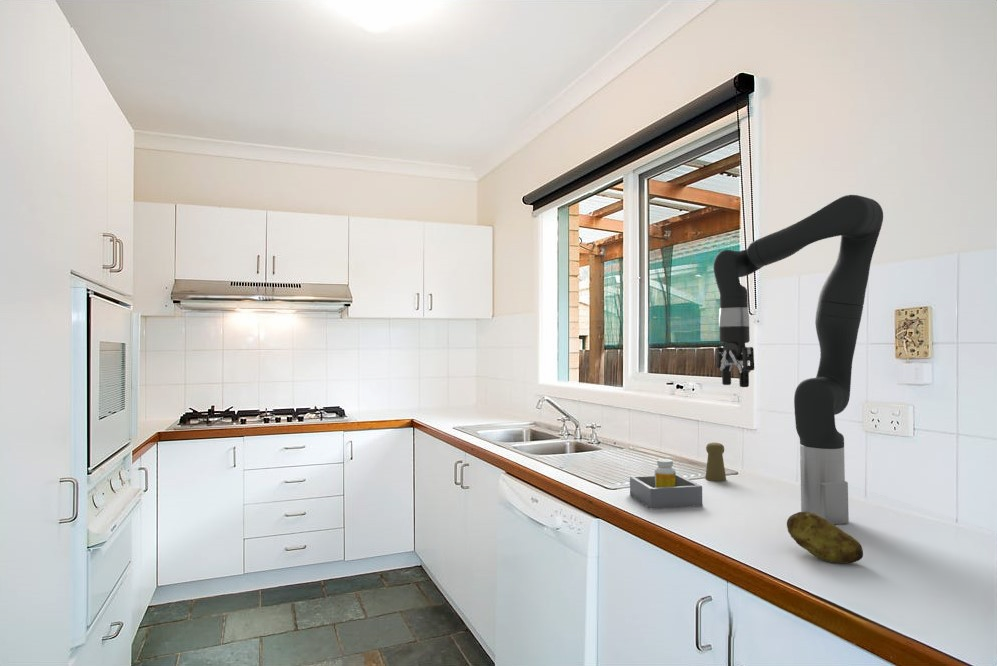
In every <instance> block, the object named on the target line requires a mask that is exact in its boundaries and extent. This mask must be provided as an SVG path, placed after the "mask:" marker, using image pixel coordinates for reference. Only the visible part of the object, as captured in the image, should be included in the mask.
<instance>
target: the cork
mask: <svg viewBox="0 0 997 666" xmlns="http://www.w3.org/2000/svg"><path fill="white" fill-rule="evenodd" d="M705 449H706V451H705V452H707V462H706V467H705V468H706V470H705V477H704V478H705V480H706V481H709V482H717V483H718V482H719V483H720V482H726V481H727V475H726V469H725V462H724V457H723V456H724V455H723V454H724V452H725V446H724V445H723V444H722V443H719V442H709V443H707V444H706V446H705Z"/></svg>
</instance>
